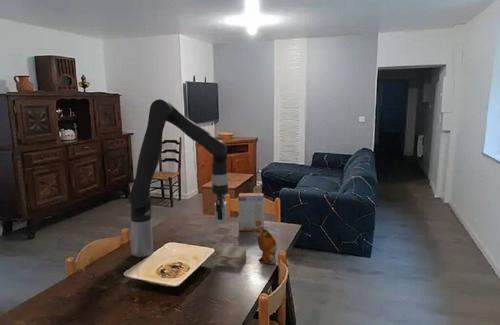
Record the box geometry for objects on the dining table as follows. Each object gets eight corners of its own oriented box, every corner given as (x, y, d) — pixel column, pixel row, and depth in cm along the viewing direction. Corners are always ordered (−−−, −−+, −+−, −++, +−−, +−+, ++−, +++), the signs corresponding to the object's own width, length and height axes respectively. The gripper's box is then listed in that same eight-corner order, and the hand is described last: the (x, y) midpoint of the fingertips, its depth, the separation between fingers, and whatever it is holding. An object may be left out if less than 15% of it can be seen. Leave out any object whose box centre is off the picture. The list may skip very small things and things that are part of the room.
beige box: (215, 265, 163) (215, 255, 162) (223, 255, 174) (223, 245, 173) (240, 268, 161) (240, 257, 160) (246, 257, 171) (246, 247, 171)
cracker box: (264, 228, 209) (264, 192, 206) (263, 231, 203) (263, 195, 200) (240, 227, 211) (239, 192, 207) (238, 231, 205) (238, 195, 201)
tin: (214, 222, 173) (214, 204, 171) (216, 219, 178) (216, 201, 176) (225, 223, 172) (225, 204, 171) (227, 219, 177) (226, 201, 176)
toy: (275, 266, 161) (275, 234, 158) (255, 265, 163) (255, 233, 160) (278, 256, 172) (278, 225, 169) (260, 254, 173) (259, 224, 171)
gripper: (214, 179, 179) (215, 212, 182) (209, 186, 165) (210, 222, 168) (229, 179, 178) (230, 212, 181) (225, 186, 164) (226, 222, 167)
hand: (221, 217), depth 175 cm, fingers closed on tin, 5 cm apart
